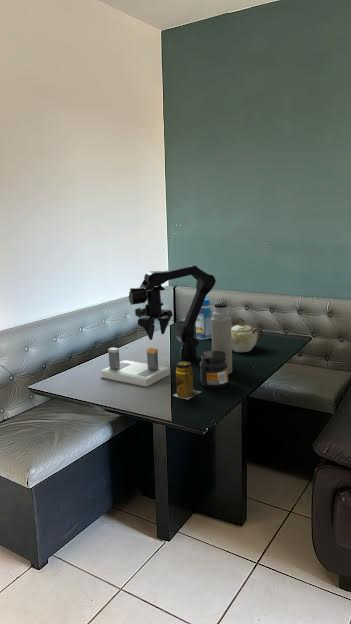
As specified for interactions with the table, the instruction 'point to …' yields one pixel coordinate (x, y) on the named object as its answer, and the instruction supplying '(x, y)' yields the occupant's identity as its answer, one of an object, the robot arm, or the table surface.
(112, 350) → the on handle
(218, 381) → the supplement container
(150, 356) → the orange-capped grey pillar
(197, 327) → the beverage bottle
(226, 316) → the thermos bottle
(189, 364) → the condiment
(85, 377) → the table surface
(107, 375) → the box
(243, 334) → the sugar bowl
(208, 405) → the table surface
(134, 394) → the table surface
